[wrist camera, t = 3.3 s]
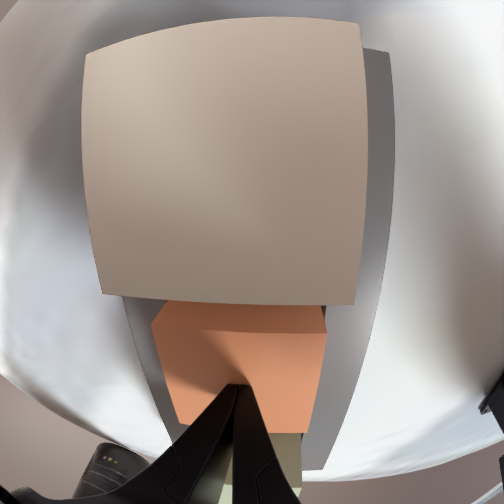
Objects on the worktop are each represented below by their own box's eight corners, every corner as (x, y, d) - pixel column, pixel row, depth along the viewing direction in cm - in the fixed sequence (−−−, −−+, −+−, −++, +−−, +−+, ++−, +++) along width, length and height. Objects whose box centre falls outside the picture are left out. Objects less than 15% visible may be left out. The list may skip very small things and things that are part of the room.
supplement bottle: (161, 477, 22) (135, 555, 11) (111, 460, 23) (79, 530, 11) (146, 453, 20) (110, 547, 9) (90, 432, 20) (47, 512, 9)
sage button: (300, 422, 12) (302, 487, 8) (291, 463, 14) (290, 513, 10) (197, 415, 13) (179, 476, 9) (209, 458, 14) (198, 506, 11)
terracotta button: (313, 276, 11) (327, 333, 8) (303, 370, 13) (307, 432, 9) (186, 273, 12) (150, 324, 8) (200, 365, 14) (179, 423, 10)
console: (367, 71, 9) (389, 52, 6) (320, 443, 16) (322, 469, 14) (134, 81, 10) (104, 68, 7) (188, 435, 17) (181, 460, 15)
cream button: (325, 77, 7) (358, 23, 3) (323, 242, 9) (353, 305, 5) (157, 86, 8) (85, 54, 4) (164, 240, 9) (102, 293, 6)
